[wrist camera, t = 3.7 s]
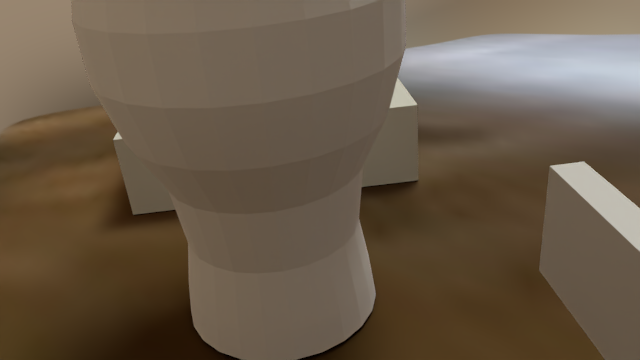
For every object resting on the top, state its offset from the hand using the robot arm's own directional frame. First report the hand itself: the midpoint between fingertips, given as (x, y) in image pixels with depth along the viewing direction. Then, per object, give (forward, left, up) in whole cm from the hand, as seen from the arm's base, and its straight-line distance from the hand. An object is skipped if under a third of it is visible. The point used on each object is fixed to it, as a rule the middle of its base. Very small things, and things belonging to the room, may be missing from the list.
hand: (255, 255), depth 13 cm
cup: (-5, -8, -9) cm, 13 cm away
